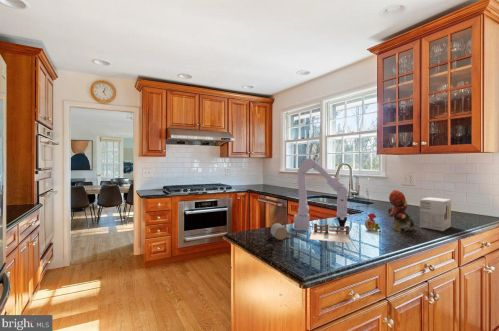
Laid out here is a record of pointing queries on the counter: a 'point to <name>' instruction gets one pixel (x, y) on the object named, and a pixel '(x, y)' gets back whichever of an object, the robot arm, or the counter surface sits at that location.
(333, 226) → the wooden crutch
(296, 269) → the counter surface
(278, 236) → the ceramic mug
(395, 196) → the stuffed monkey
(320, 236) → the card
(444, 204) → the supplement box
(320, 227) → the frame
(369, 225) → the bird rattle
